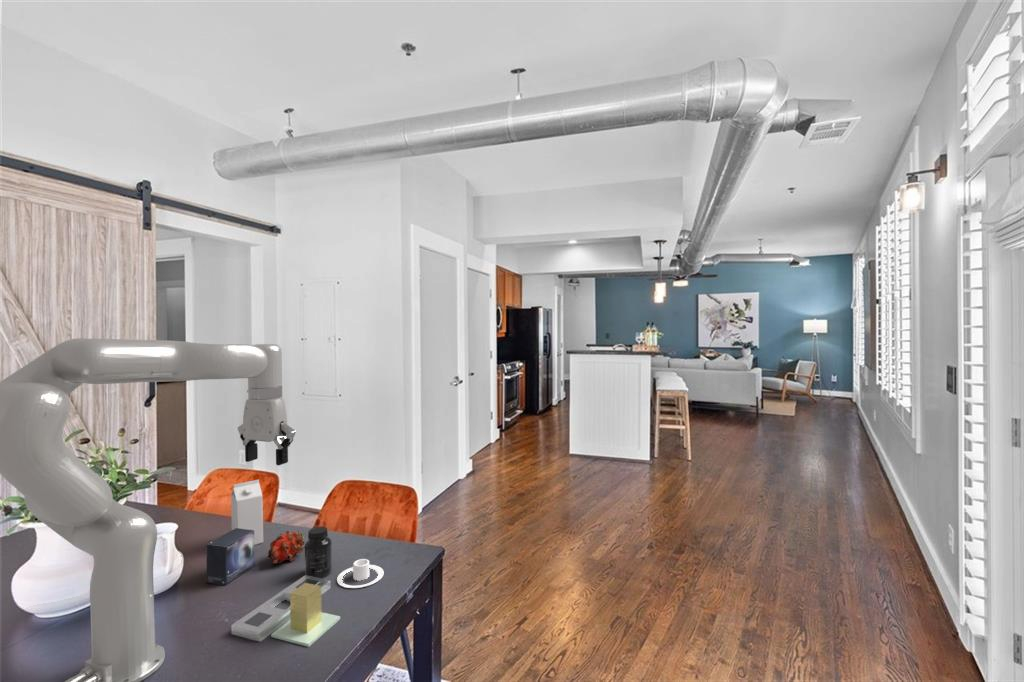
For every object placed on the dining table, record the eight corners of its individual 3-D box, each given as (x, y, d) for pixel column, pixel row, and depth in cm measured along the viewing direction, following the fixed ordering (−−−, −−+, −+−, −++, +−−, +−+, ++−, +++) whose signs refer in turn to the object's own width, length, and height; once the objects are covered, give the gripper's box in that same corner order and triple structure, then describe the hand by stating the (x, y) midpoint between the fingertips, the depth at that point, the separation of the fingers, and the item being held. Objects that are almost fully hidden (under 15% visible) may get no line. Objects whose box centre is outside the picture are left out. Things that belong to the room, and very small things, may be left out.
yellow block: (307, 633, 103) (306, 596, 103) (290, 629, 104) (290, 593, 104) (321, 620, 107) (321, 586, 107) (305, 617, 109) (305, 582, 108)
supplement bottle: (305, 569, 131) (304, 526, 131) (331, 565, 134) (331, 522, 133) (304, 582, 125) (303, 537, 124) (332, 576, 127) (331, 532, 127)
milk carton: (231, 542, 148) (230, 481, 147) (256, 535, 153) (255, 476, 152) (237, 550, 143) (236, 487, 142) (263, 542, 147) (262, 482, 147)
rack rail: (260, 641, 101) (259, 632, 101) (231, 634, 104) (231, 624, 103) (330, 587, 122) (330, 579, 122) (305, 582, 124) (305, 574, 124)
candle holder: (336, 594, 120) (335, 577, 120) (337, 571, 131) (337, 555, 131) (385, 586, 123) (385, 569, 123) (382, 564, 135) (382, 549, 135)
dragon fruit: (306, 555, 143) (273, 580, 132) (287, 536, 144) (253, 559, 133) (316, 537, 140) (283, 561, 129) (296, 517, 141) (262, 540, 130)
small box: (226, 586, 123) (225, 546, 122) (205, 583, 124) (204, 544, 124) (256, 566, 133) (255, 529, 133) (236, 563, 134) (235, 527, 134)
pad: (308, 646, 99) (308, 644, 99) (271, 637, 103) (271, 634, 103) (340, 619, 109) (340, 616, 109) (305, 610, 112) (305, 608, 112)
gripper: (225, 394, 117) (227, 463, 118) (281, 397, 112) (282, 469, 112) (251, 390, 124) (252, 455, 125) (304, 393, 119) (305, 461, 119)
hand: (266, 462), depth 118 cm, fingers open, 9 cm apart
